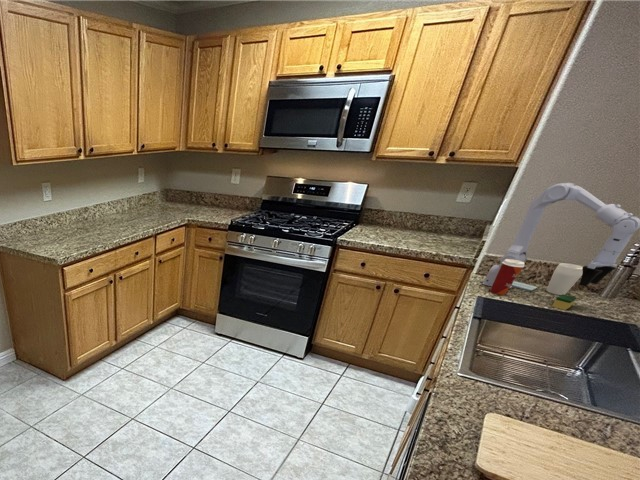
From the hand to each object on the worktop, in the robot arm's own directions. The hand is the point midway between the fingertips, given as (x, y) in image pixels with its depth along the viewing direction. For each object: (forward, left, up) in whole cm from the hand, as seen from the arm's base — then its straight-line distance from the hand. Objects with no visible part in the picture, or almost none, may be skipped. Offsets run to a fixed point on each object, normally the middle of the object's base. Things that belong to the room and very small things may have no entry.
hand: (588, 284), depth 166 cm
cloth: (-22, +11, -10) cm, 27 cm away
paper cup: (-24, -9, -10) cm, 27 cm away
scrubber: (-3, -4, -10) cm, 11 cm away
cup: (-10, +16, -10) cm, 21 cm away
